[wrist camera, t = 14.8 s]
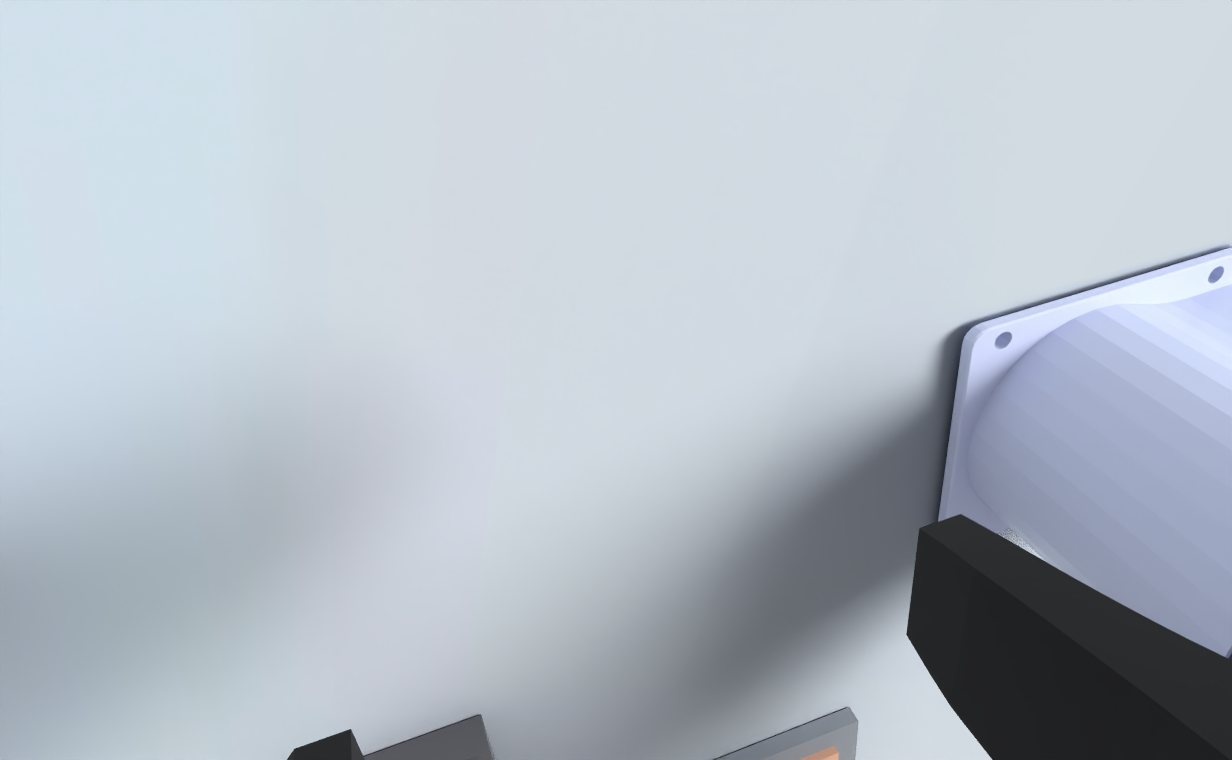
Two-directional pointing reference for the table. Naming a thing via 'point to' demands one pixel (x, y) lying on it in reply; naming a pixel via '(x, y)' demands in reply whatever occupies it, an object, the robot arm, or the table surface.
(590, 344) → the table surface
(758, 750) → the board
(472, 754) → the ink pad
